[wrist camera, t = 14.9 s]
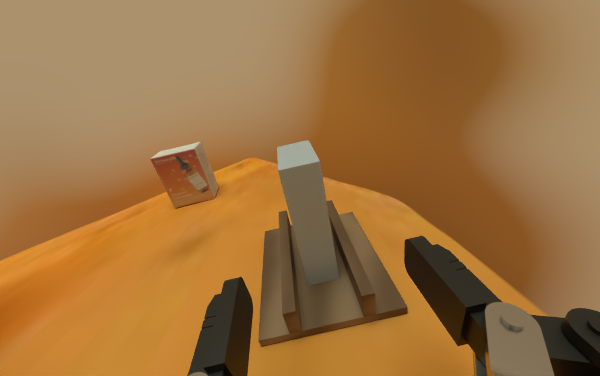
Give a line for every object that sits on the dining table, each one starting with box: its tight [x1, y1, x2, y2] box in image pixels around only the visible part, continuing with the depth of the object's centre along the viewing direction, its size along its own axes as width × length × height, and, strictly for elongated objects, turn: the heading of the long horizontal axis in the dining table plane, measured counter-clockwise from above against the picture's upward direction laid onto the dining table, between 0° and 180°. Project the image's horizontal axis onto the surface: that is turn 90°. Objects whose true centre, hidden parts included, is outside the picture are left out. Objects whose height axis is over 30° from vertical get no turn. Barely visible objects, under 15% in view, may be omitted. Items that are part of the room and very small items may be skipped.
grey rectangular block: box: [277, 140, 339, 286], centre depth 21 cm, size 3×6×12 cm, turn 6°
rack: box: [259, 200, 407, 346], centre depth 23 cm, size 12×14×3 cm
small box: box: [150, 142, 219, 208], centre depth 44 cm, size 8×6×10 cm
